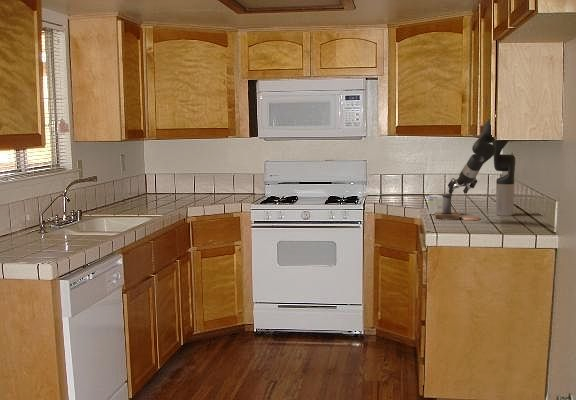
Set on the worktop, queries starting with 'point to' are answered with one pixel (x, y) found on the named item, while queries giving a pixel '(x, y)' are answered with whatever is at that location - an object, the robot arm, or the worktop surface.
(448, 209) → the plug
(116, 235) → the worktop surface
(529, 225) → the worktop surface
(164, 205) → the worktop surface
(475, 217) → the orange round disc
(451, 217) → the brown wooden square frame
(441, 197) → the light bulb box
